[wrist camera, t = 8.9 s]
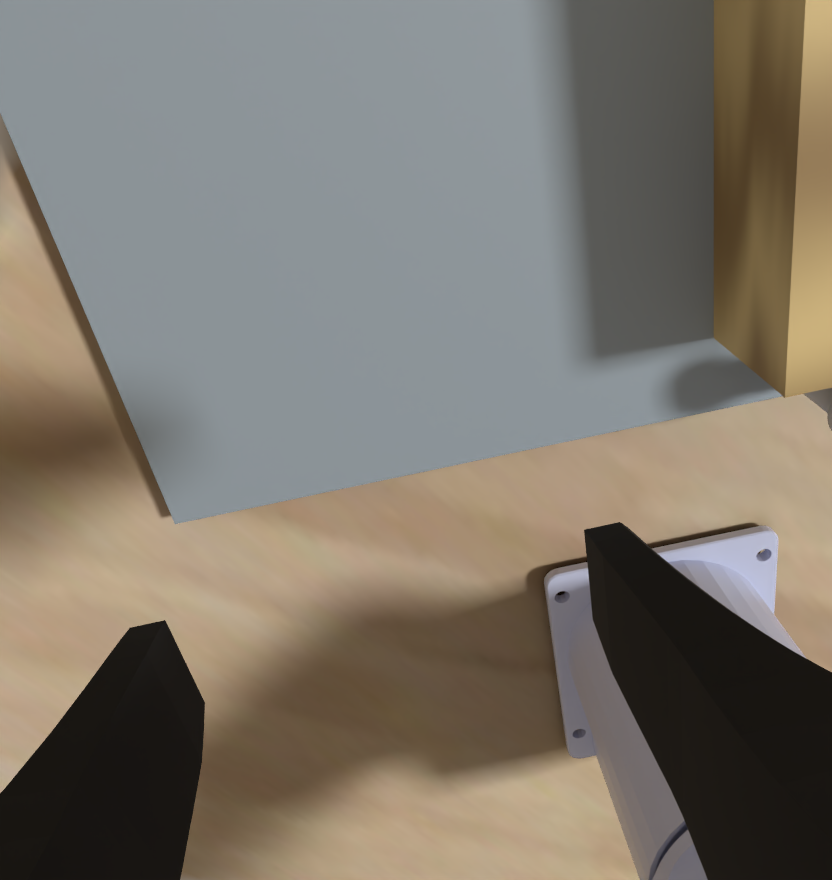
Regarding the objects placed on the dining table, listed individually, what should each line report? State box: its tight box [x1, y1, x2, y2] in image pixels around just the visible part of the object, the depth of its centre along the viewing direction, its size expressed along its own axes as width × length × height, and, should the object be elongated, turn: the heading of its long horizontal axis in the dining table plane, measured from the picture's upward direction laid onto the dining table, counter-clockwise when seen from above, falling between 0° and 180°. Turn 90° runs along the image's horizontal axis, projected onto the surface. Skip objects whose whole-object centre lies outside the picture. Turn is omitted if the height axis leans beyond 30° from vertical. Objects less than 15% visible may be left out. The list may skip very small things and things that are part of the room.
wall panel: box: [0, 0, 832, 524], centre depth 18 cm, size 16×26×4 cm, turn 101°
